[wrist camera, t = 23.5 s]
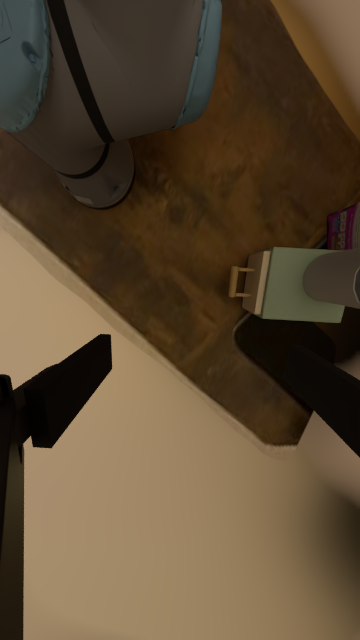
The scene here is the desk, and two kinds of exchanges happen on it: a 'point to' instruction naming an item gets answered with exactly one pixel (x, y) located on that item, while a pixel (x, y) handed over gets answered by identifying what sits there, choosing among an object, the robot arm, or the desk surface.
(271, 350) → the desk surface
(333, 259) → the cup
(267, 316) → the cabinet
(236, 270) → the drawer
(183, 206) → the desk surface
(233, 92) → the desk surface
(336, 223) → the candy bar box
